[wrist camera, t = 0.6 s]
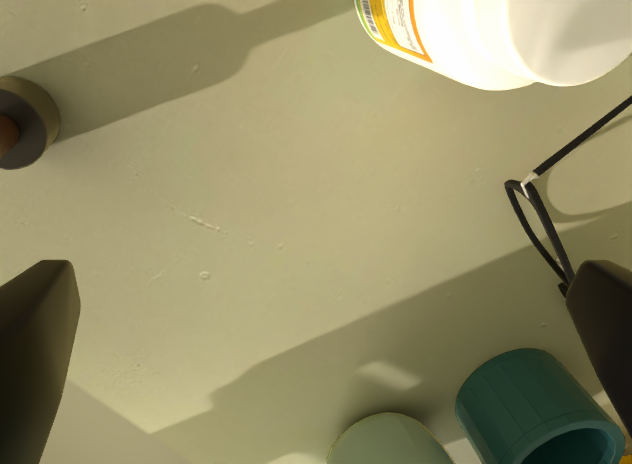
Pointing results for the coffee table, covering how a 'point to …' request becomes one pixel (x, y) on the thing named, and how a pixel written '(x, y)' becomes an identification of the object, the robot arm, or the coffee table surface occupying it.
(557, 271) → the eyeglasses
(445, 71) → the supplement bottle
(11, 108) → the stick grenade
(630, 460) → the duckling
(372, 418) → the cup
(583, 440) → the jar
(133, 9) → the coffee table surface
